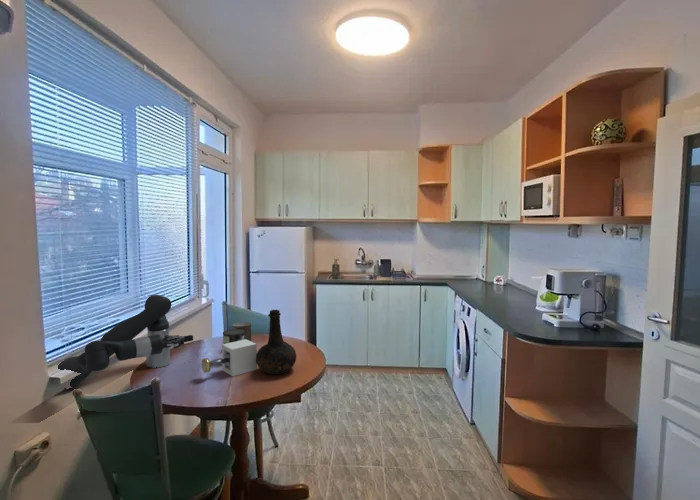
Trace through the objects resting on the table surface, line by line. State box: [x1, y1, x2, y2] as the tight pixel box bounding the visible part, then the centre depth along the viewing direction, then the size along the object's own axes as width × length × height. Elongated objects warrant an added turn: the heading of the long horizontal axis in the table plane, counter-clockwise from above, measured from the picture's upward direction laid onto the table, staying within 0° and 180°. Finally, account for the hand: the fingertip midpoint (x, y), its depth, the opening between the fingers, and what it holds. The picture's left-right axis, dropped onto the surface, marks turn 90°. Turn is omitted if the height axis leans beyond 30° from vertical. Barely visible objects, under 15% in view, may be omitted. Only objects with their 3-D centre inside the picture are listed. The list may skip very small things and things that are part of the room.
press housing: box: [221, 339, 258, 377], centre depth 176 cm, size 12×10×12 cm
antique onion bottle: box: [256, 309, 297, 375], centre depth 174 cm, size 18×18×28 cm
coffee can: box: [222, 328, 245, 344], centre depth 190 cm, size 10×10×14 cm
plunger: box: [201, 353, 230, 374], centre depth 169 cm, size 12×6×6 cm, turn 133°
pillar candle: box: [232, 321, 252, 342], centre depth 207 cm, size 10×10×15 cm
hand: (192, 337), depth 161 cm, fingers closed
